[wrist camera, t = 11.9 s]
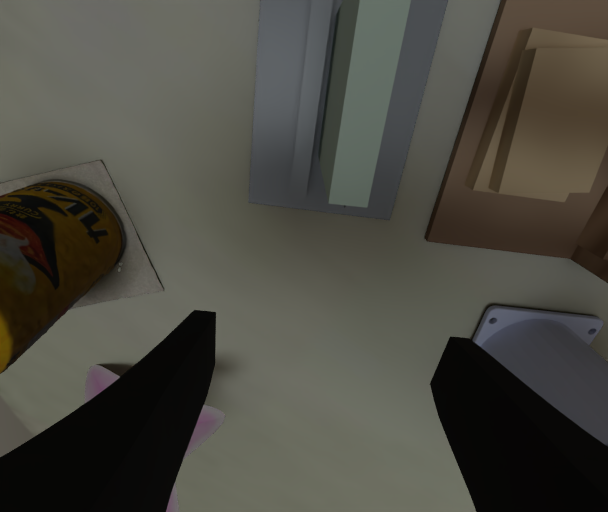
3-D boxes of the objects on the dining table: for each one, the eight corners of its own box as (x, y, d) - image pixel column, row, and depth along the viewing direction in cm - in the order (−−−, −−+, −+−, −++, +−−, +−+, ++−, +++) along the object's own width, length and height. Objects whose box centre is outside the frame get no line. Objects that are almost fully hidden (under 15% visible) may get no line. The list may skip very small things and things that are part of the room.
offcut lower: (551, 196, 18) (564, 202, 17) (464, 184, 18) (472, 190, 17) (623, 48, 15) (643, 45, 14) (519, 31, 15) (532, 27, 14)
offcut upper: (574, 187, 17) (589, 192, 16) (488, 187, 17) (498, 193, 16) (624, 49, 14) (646, 46, 13) (522, 50, 14) (536, 47, 13)
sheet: (340, 157, 17) (367, 207, 10) (317, 154, 17) (328, 203, 10) (363, 18, 15) (420, -47, 7) (336, 14, 15) (368, -56, 7)
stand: (387, 217, 19) (398, 234, 17) (249, 199, 19) (242, 215, 17) (458, -52, 14) (487, -78, 12) (266, -86, 13) (259, -120, 11)
